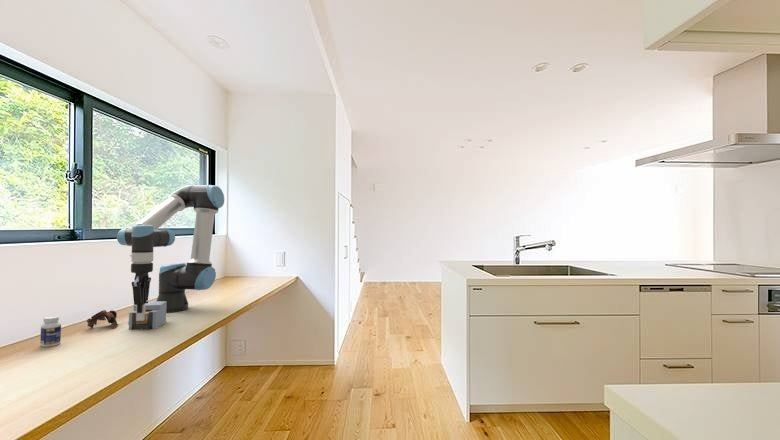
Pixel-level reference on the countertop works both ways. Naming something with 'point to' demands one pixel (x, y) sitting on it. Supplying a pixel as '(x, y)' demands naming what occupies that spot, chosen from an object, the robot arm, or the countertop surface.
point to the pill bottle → (50, 332)
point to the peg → (145, 318)
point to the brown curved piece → (103, 318)
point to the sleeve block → (155, 316)
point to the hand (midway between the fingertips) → (140, 320)
